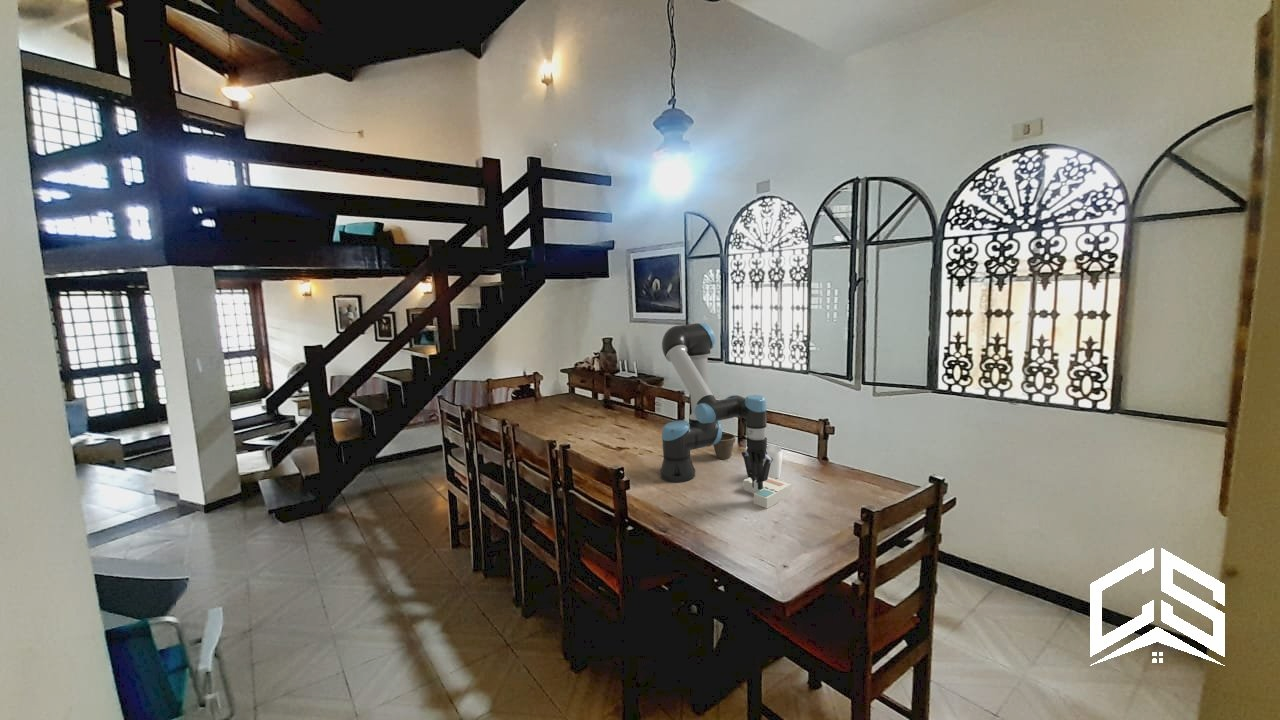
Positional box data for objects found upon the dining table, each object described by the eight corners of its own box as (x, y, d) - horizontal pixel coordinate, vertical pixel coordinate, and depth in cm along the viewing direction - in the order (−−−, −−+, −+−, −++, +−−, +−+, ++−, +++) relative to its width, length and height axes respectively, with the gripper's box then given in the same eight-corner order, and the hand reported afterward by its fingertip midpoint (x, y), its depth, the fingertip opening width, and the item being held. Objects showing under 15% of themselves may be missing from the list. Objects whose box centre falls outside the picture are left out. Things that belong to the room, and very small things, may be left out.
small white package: (743, 489, 210) (743, 479, 209) (757, 482, 215) (757, 473, 215) (777, 501, 198) (777, 491, 197) (791, 494, 203) (791, 484, 203)
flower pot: (718, 451, 255) (717, 431, 253) (740, 454, 248) (739, 434, 246) (707, 458, 245) (706, 438, 244) (729, 462, 239) (728, 441, 237)
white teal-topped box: (753, 503, 197) (753, 493, 196) (765, 497, 201) (765, 487, 200) (767, 508, 192) (766, 497, 191) (778, 502, 197) (778, 491, 196)
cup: (783, 480, 216) (783, 452, 214) (760, 480, 218) (760, 452, 216) (782, 472, 225) (781, 445, 223) (760, 471, 227) (759, 445, 225)
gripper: (736, 436, 198) (738, 494, 202) (764, 443, 188) (765, 505, 192) (748, 431, 203) (750, 488, 207) (777, 438, 193) (778, 498, 197)
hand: (757, 496), depth 199 cm, fingers closed
